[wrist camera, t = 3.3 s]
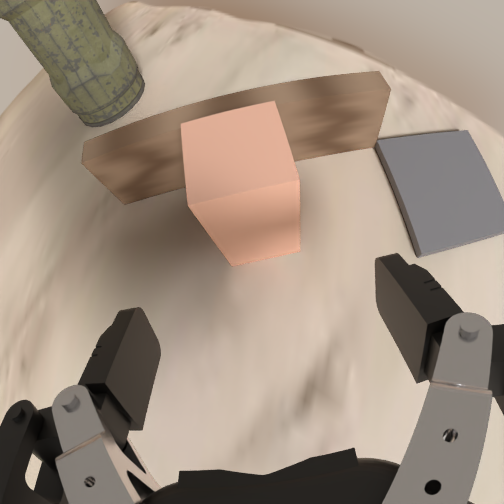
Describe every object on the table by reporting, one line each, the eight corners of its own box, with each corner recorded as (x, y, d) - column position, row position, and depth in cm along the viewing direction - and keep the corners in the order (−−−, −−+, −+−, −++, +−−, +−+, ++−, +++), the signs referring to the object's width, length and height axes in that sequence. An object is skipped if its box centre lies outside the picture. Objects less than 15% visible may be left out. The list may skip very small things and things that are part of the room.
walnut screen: (124, 204, 26) (81, 163, 20) (124, 185, 27) (84, 142, 20) (374, 147, 25) (391, 89, 18) (366, 129, 25) (379, 71, 19)
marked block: (232, 266, 23) (187, 205, 14) (221, 204, 25) (180, 121, 16) (300, 251, 23) (299, 179, 14) (284, 189, 25) (273, 98, 15)
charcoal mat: (417, 257, 22) (421, 253, 21) (374, 147, 25) (376, 140, 24) (508, 232, 21) (514, 227, 20) (463, 136, 24) (467, 130, 23)
